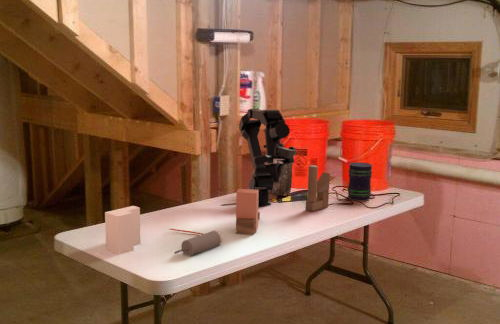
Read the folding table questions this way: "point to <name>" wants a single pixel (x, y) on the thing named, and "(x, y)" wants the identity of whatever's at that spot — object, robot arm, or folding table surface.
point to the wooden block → (317, 189)
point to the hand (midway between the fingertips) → (276, 182)
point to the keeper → (247, 204)
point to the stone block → (283, 181)
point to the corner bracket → (122, 229)
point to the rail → (246, 225)
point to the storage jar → (359, 181)
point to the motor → (199, 242)
